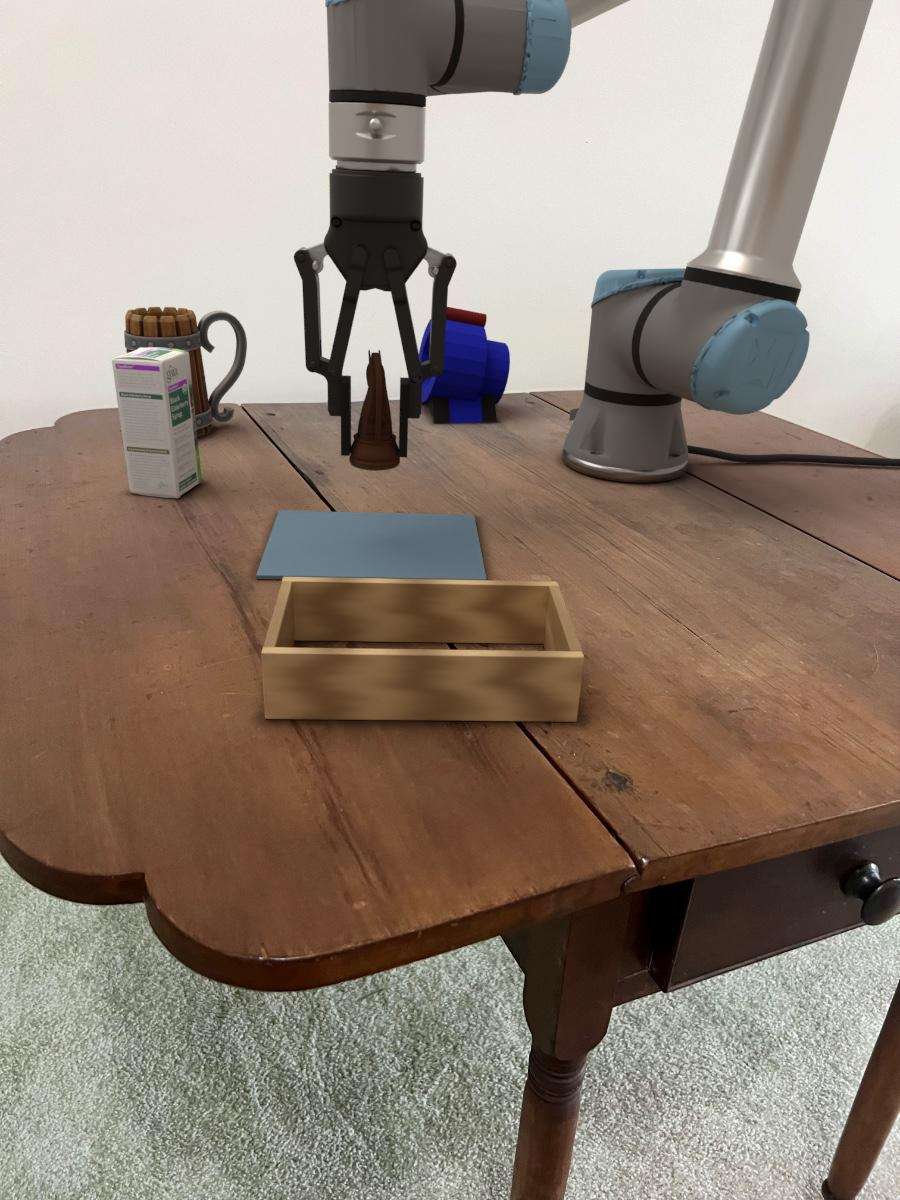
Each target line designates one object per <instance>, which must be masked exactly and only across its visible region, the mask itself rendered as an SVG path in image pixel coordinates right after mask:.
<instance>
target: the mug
mask: <svg viewBox="0 0 900 1200" xmlns="http://www.w3.org/2000/svg"><path fill="white" fill-rule="evenodd" d="M124 319H125V320H124V321H125V322H124V323H125V330H124V331H123V334H124V348H125V349H126V351H125V352H126V353H129V352H132V351H135V350H137V349H138V348H140V347H142V348H148V347H162V348H173V349H179V350H185V351H188V352H189V358H190V368H191V378H192V388H193V398H194V408H195V418H196V428H197V438H198V439H201V438H203V437H205V436H206V435H208V434H209V433H210V432H211V430H212V429H213V422H214V420H215V421H216V422H218V423H227V422H230V421H231V420H232V419H233V417H234V414H235V409H234V408H233V407H232V406H223V410H222V411H221V412H220V411H219V406H220V403H221V401H222V399H223V398H224V397H225V395H226V394H227V393H228V392H229V390H230V389H231V388H232V387H233V386H234V385H235V384H236V382H237V381H238V379H239V378H240V377H241V374H242V372H243V370H244V367H245V365H246V358H247V351H248V340H247V334H246V331H245V329H244V326H243V324H242V323H241V322H240V320H239V318H238V319H237V317H236V316H234V315H233V314H231V313H229V312H228V311H225V310H212V311H209V312H207V313H205V314H204V315H203V316H202V317H201V318H200V319H199V321H198V322H197V315H196V314H195V312H194V310H192V309H188V308H185V307H178V308H176V307H175V306H164V307H163V310H162V309H161V306H148V308H146V307H137V308H135V309H133V308H132V309H128V310H127V312H126V313H125V316H124ZM219 321H225V322H227V323H229V325H230V326H231V327H232V329H233V332H234V335H235V343H236V344H235V353H234V359H233V362H232V366H231V367H230V369H229V371H228V373H227V374H226V375H225V376H224V378H223V379H222V380H220V382H219V383H218V384H217V385H216V386H215V388H214V389H213V391H212V392H211V393H210V396H209V395H208V394H209V393H208V388H207V380H206V373H205V368H204V362H203V361H204V360H203V354H202V349H201V347H202V348H203V349H204V350H205V351H207V352H208V353H209V354H212V353H213V351H214V350H215V349H216V346H214V345H213V344H212V343H211V342H210V340H209V335H208V333H209V328H210V327H211V326H212V325H213V324H214V323H215V322H219Z"/></svg>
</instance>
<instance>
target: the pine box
mask: <svg viewBox="0 0 900 1200" xmlns="http://www.w3.org/2000/svg"><path fill="white" fill-rule="evenodd" d="M269 621H270V622H269V624H268V628H267V632H266V635H265V638H264V641H263V645H262V649H261V653H260V658H261V672H262V675H261V676H262V691H263V707H264V719H265V720H327V721H329V720H333V721H334V720H335V721H336V720H337V721H339V720H340V721H341V720H343V721H345V720H346V721H351V720H352V721H434V722H435V721H441V722H442V721H445V722H453V721H454V722H455V721H456V722H541V723H542V722H543V723H544V722H547V723H550V722H555V723H556V722H557V723H560V722H561V723H563V722H565V723H577V721H578V713H579V705H580V698H581V689H582V688H581V687H582V681H583V680H582V679H583V673H584V663H585V655H584V652H583V648H582V646H581V643H580V641H579V638H578V635H577V632H576V629H575V627H574V624H573V620H572V618H571V615H570V613H569V610H568V607H567V604H566V601H565V599H564V596H563V593H562V590H561V588H560V584H559V582H558V581H549V580H546V581H544V580H543V581H541V580H540V581H539V580H493V579H491V580H488V579H487V580H439V579H384V578H328V577H283V579H282V580H281V583H280V587H279V590H278V593H277V596H276V600H275V604H274V607H273V610H272V614H271V618H270V620H269ZM295 641H298V642H299V641H300V642H301V641H302V642H303V641H305V642H306V641H307V642H309V641H311V642H312V641H313V642H375V643H376V642H377V643H378V642H381V643H439V644H440V643H441V644H442V643H443V644H444V643H445V644H446V643H447V644H448V643H450V644H456V643H457V644H510V645H511V644H512V645H513V644H516V645H517V644H518V645H519V644H520V645H521V644H523V645H543V647H544V650H510V649H509V650H505V649H503V650H499V649H497V650H496V649H430V648H429V649H427V648H426V649H425V648H424V649H423V648H422V649H421V648H360V647H359V648H357V647H356V648H354V647H353V648H352V647H351V648H349V647H343V648H342V647H295V646H294V645H295Z"/></svg>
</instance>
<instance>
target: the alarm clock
mask: <svg viewBox="0 0 900 1200" xmlns="http://www.w3.org/2000/svg"><path fill="white" fill-rule="evenodd" d="M487 318H488V317H487V314H486V313H482V312H477V311H472V310H467V309H461V308H458V307H457V308H456V307H451V306H447V315H446V333H445V351H444V369H443V373H442V374H441V375H440V376H437V377H436V376H434V377H431V378H428V379H426V380H425V381H424V382H423V384H422V403H424V404H428V408H429V410H430V414H431V418H432V422H433V424H434V425H436V424H437V425H438V424H439V425H440V424H441V425H442V424H475V423H476V424H478V423H479V424H480V423H498V416H497V404H499V402H500V401H501V400H502V398H503V395H504V393H505V391H506V388H507V384H508V382H509V381H508V379H509V375H510V365H511V354H510V349H509V345H508V344H507V343H506V342H502V341H496V340H491V339H488V336H487V332H486V324H487ZM430 330H431V318H430V319H429V320H428V323H427V325H426V327H425V329H424V331H423V334H422V338H421V341H420V342H421V343H420V346H419V349H418V353H419V358H420V363H422V362H425V361H428V360H429V350H430Z"/></svg>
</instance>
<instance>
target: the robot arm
mask: <svg viewBox="0 0 900 1200" xmlns="http://www.w3.org/2000/svg"><path fill="white" fill-rule="evenodd" d="M629 1H631V0H325V3H324V5H325V6H324V7H325V8H326V28H327V29H326V30H327V31H326V32H327V59H328V61H327V62H328V63H327V65H328V157H329V158H330V159H331V160H332V161H336V164H335V168H332V169H331V172H329V173H328V174H329V175H328V177H329V178H328V179H329V180H328V181H329V185H328V186H329V226H328V230H327V232H326V234H325V236H324V239H323V241H322V242H320V243H317V244H315V245H311V246H309V247H305V246H303V247H300V248H298V249H297V250H296V251H295V253H294V254H293V261H294V263H295V266H296V268H297V271H298V273H299V276H300V279H301V284H302V287H301V288H302V307H303V309H302V310H303V311H302V312H303V334H304V357H305V368H306V370H307V371H308V372H309V373H314V374H315V373H316V374H318V375H320V376H322V377H324V378H325V380H326V382H327V412H328V414H329V416H330V417H340V457H341V456H342V457H343V456H344V457H345V456H346V457H350V455H351V454H350V448H351V446H352V376H351V375H343V369H344V366H345V361H346V357H347V351H348V348H349V342H350V338H351V333H352V329H353V325H354V320H355V315H356V311H357V308H358V307H357V306H358V302H359V297H360V294H361V291H365V292H367V291H370V290H374V289H376V290H379V291H382V292H389V293H390V294H391V299H392V304H393V307H394V313H395V319H396V322H397V323H396V324H397V327H398V331H399V332H398V333H399V337H400V343H401V347H402V352H403V357H404V363H405V368H406V372H407V377H399V417H398V418H399V420H398V421H399V423H398V425H399V426H398V427H399V428H398V448H399V457H400V458H408V441H409V438H408V437H409V435H408V434H409V419H413V420H414V419H416V420H418V419H420V417H421V415H422V403H423V402H422V384H423V382H424V381H425V380H426V379H428V378H431V377H434V376H436V377H437V376H440V375H441V374H442V373H443V369H444V351H445V333H446V315H447V307H448V296H449V295H448V294H449V293H448V292H449V285H450V283H451V280H452V278H453V275H454V273H455V271H456V269H457V265H458V263H457V260H456V258H455V256H454V255H453V254H452V253H444V252H442V251H440V250H437V249H436V248H433V247H431V246H429V243H428V241H427V237H426V236H425V233H424V230H423V221H424V220H423V218H424V216H423V215H424V185H425V184H424V181H425V177H424V176H422V173H421V172H417V165H421V164H423V163H424V162H425V149H426V147H425V145H426V116H427V115H426V114H427V113H426V112H427V108H426V107H427V97H435V96H436V97H437V96H446V95H461V94H463V95H464V94H478V93H507V94H512V95H513V96H520V95H543V94H544V93H545V94H546V93H547V92H550V91H551V90H552V89H553V88H554V87H555V86H556V85H557V83H558V82H559V81H560V80H561V78H562V76H563V74H564V72H565V70H566V67H567V63H568V60H569V58H570V57H569V56H570V53H571V39H572V31H573V29H574V28H576V27H578V26H580V25H582V24H584V23H586V22H588V21H590V20H592V19H594V18H596V17H599V16H601V15H603V14H605V13H607V12H609V11H611V10H613V9H615V8H617V7H619V6H621V5H623V4H625V3H628V2H629ZM873 2H874V0H773V3H772V6H771V10H770V15H769V18H768V22H767V25H766V30H765V33H764V37H763V41H762V44H761V47H760V51H759V55H758V59H757V62H756V67H755V70H754V74H753V76H752V80H751V84H750V87H749V91H748V96H747V99H746V101H745V102H746V103H745V106H744V110H743V114H742V117H741V121H740V124H739V128H738V133H737V135H736V139H735V143H734V147H733V151H732V154H731V158H730V162H729V166H728V168H727V172H726V176H725V180H724V183H723V187H722V190H721V194H720V199H719V202H718V205H717V209H716V213H715V217H714V220H713V224H712V228H711V231H710V235H709V239H708V243H707V246H706V248H705V249H704V251H702V252H701V253H700V254H699V255H697V256H695V257H694V258H692V259H691V260H690V261H689V262H687V263H686V267H685V268H683V267H682V268H681V267H679V268H678V267H677V268H637V269H636V268H634V269H633V268H630V269H608V270H606V271H603V272H602V273H601V274H600V275H599V276H598V277H597V280H596V283H595V286H594V287H595V288H594V292H593V297H592V300H591V301H592V302H591V303H590V308H591V316H590V328H589V337H588V348H587V356H586V357H587V358H586V366H585V367H586V368H585V377H584V378H585V379H584V389H583V396H582V400H581V402H580V405H579V407H577V408H573V409H570V410H569V419H568V422H571V421H572V423H571V425H570V427H569V430H568V433H567V435H566V437H565V439H564V443H563V446H562V457H561V458H562V459H561V460H562V461H563V463H564V464H565V465H566V466H567V467H569V468H570V469H572V470H574V471H576V472H579V473H581V474H585V475H587V476H591V477H595V478H599V479H603V480H610V481H615V482H616V481H617V482H625V483H626V482H627V483H658V482H665V481H670V480H671V481H672V480H674V479H678V478H679V477H681V476H683V475H685V474H686V472H687V469H688V465H689V455H691V454H692V455H696V456H702V457H709V458H715V459H718V460H724V461H728V462H733V463H734V462H736V463H747V464H748V463H753V464H757V463H812V464H814V463H815V464H831V465H832V464H833V465H849V466H851V465H852V466H874V467H900V458H892V457H891V458H890V457H889V458H887V457H864V456H862V457H861V456H841V455H825V454H805V453H771V454H769V453H768V454H741V453H732V452H728V451H722V450H718V449H713V448H707V447H701V446H695V445H689V444H688V442H687V436H686V431H685V425H684V419H683V413H682V399H684V400H686V401H689V402H692V403H695V404H697V405H698V406H700V407H702V408H703V409H706V410H708V411H716V412H723V413H725V414H729V415H737V416H741V415H750V414H753V413H756V412H759V411H761V410H763V409H766V408H767V407H769V406H770V405H771V404H772V402H773V401H775V400H778V399H780V398H781V397H782V396H783V395H784V394H785V393H786V392H787V391H788V390H789V388H790V387H791V386H792V385H793V383H794V382H795V381H796V379H797V377H798V376H799V374H800V372H801V370H802V368H803V366H804V365H805V361H806V359H807V356H808V352H809V349H810V348H809V347H810V337H811V336H810V332H809V331H808V330H807V328H808V325H809V324H808V320H807V318H806V316H805V314H804V313H803V311H802V310H800V309H799V307H798V306H797V304H798V301H799V298H800V294H801V291H802V286H803V285H802V283H801V281H800V280H799V278H798V276H797V273H796V272H795V271H794V266H793V265H794V262H795V261H794V260H795V257H796V254H797V250H798V247H799V244H800V241H801V237H802V234H803V232H804V228H805V225H806V222H807V219H808V215H809V212H810V209H811V206H812V202H813V199H814V195H815V192H816V189H817V186H818V182H819V179H820V176H821V173H822V170H823V166H824V163H825V159H826V156H827V152H828V150H829V146H830V143H831V139H832V138H833V137H832V136H833V133H834V130H835V127H836V124H837V120H838V117H839V114H840V110H841V107H842V103H843V100H844V97H845V94H846V91H847V87H848V84H849V81H850V78H851V74H852V71H853V68H854V64H855V61H856V58H857V54H858V52H859V48H860V45H861V42H862V39H863V36H864V31H865V29H866V26H867V22H868V19H869V16H870V13H871V9H872V5H873ZM327 256H328V257H329V258H330V260H331V261H332V263H333V264H334V266H335V267H336V269H337V270H338V272H339V273H340V275H341V276H342V278H343V279H344V280H345V286H344V290H343V295H342V300H341V304H340V310H339V314H338V319H337V324H336V329H335V334H334V338H333V343H332V348H331V351H330V355H329V358H327V357H324V356H323V346H322V345H323V344H322V316H321V315H322V314H321V313H322V312H321V291H320V290H321V285H320V275H319V274H320V273H321V272H322V271H323V270H324V268H325V257H327ZM423 260H425V261H426V263H427V264H428V266H427V271H428V275H429V276H430V277H431V278H432V279H433V280H432V292H431V311H430V315H431V316H430V319H431V330H430V350H429V360H428V361H425V362H422V363H420V358H419V347H418V343H417V338H416V332H415V327H414V322H413V317H412V311H411V306H410V302H409V296H408V291H407V285H406V283H407V282H408V281H409V279H410V278H411V276H412V275H413V273H414V272H415V271H416V270H417V269H418V267H419V266H420V264H421V263H422V261H423Z"/></svg>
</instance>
